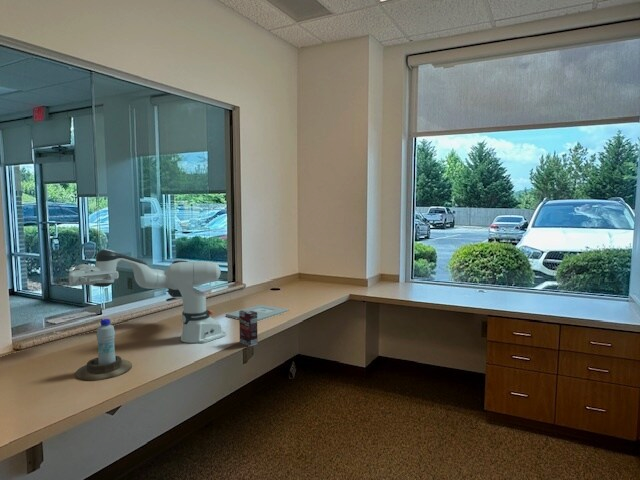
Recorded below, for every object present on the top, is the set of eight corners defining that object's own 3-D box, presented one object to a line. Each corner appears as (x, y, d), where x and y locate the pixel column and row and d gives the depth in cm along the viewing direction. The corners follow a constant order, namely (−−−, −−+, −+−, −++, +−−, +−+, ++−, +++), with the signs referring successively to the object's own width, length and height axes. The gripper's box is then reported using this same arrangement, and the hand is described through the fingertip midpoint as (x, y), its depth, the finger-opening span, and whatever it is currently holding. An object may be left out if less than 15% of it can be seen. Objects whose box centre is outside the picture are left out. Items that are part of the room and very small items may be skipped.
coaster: (122, 357, 182) (121, 349, 181) (139, 370, 167) (138, 361, 167) (70, 370, 168) (69, 360, 168) (83, 385, 154) (83, 374, 153)
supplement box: (239, 342, 202) (238, 310, 201) (247, 340, 206) (246, 309, 204) (250, 346, 196) (249, 313, 195) (258, 344, 200) (257, 311, 198)
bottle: (119, 364, 171) (117, 316, 170) (111, 370, 165) (109, 321, 163) (103, 364, 171) (100, 317, 170) (94, 370, 165) (92, 321, 163)
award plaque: (225, 317, 251) (225, 313, 251) (260, 307, 276) (260, 304, 276) (255, 323, 237) (255, 320, 237) (288, 313, 261) (288, 309, 261)
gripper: (113, 279, 204) (123, 282, 194) (66, 284, 190) (74, 288, 180) (113, 266, 203) (123, 269, 193) (65, 271, 189) (73, 274, 179)
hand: (99, 278), depth 186 cm, fingers open, 8 cm apart
